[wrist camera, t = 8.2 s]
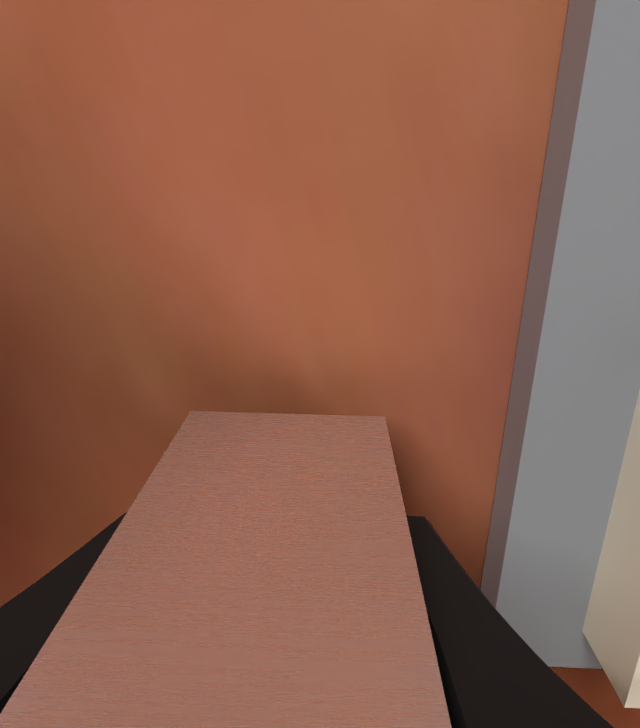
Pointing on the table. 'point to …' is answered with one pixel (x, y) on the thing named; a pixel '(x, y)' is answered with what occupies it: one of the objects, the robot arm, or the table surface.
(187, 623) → the block
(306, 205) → the table surface
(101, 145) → the table surface
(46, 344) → the table surface
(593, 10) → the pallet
